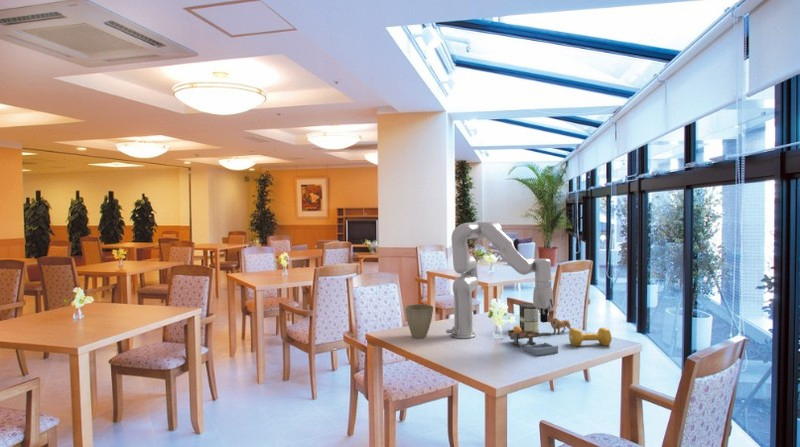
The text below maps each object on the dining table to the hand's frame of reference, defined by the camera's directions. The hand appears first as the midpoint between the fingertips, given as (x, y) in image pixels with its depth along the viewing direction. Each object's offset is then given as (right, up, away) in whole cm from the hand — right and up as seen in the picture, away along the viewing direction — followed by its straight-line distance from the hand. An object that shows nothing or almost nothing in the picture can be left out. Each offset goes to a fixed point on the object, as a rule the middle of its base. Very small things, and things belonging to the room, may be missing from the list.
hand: (544, 321), depth 231 cm
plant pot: (-60, -12, +20) cm, 64 cm away
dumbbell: (+23, -12, +2) cm, 26 cm away
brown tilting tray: (-6, -9, +4) cm, 12 cm away
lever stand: (-9, -12, +3) cm, 15 cm away
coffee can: (+1, -11, +31) cm, 33 cm away
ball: (-11, -6, +8) cm, 15 cm away
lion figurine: (+16, -11, +24) cm, 32 cm away
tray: (-4, -12, -9) cm, 15 cm away
